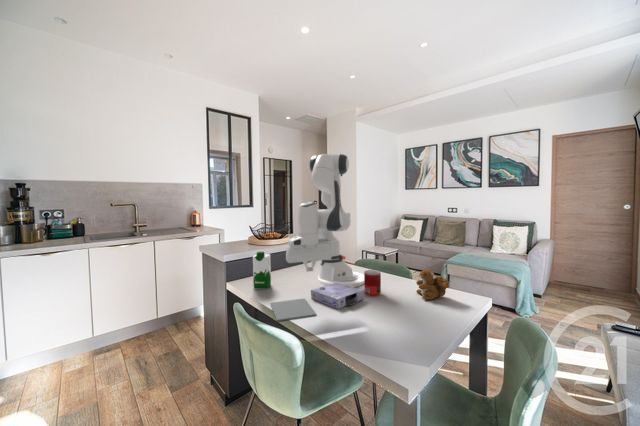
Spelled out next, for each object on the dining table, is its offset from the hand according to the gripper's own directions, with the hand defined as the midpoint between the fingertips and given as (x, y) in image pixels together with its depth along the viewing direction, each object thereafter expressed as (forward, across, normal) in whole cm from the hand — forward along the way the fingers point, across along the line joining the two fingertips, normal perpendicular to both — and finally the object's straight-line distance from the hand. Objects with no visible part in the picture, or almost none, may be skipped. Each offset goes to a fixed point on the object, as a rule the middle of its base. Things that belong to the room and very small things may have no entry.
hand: (309, 271), depth 116 cm
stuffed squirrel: (+16, -58, +8) cm, 61 cm away
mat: (+16, +8, 0) cm, 18 cm away
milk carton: (+16, +17, -34) cm, 41 cm away
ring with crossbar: (+19, -28, -32) cm, 46 cm away
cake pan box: (+14, -6, 0) cm, 15 cm away
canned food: (+16, -34, -6) cm, 38 cm away
